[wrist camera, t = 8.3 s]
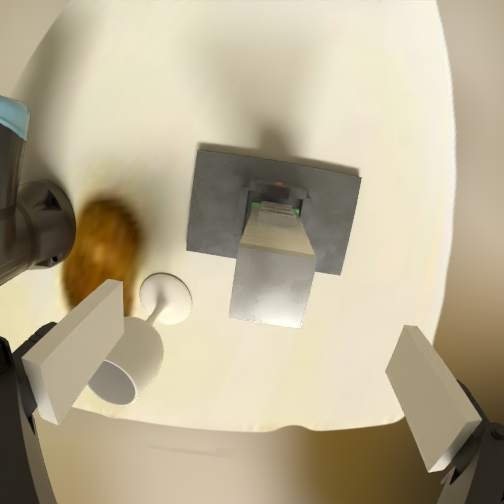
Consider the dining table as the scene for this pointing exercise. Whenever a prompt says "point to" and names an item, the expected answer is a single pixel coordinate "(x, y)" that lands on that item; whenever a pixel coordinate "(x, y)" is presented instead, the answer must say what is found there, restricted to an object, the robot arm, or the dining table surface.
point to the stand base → (272, 190)
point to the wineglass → (141, 342)
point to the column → (273, 267)
